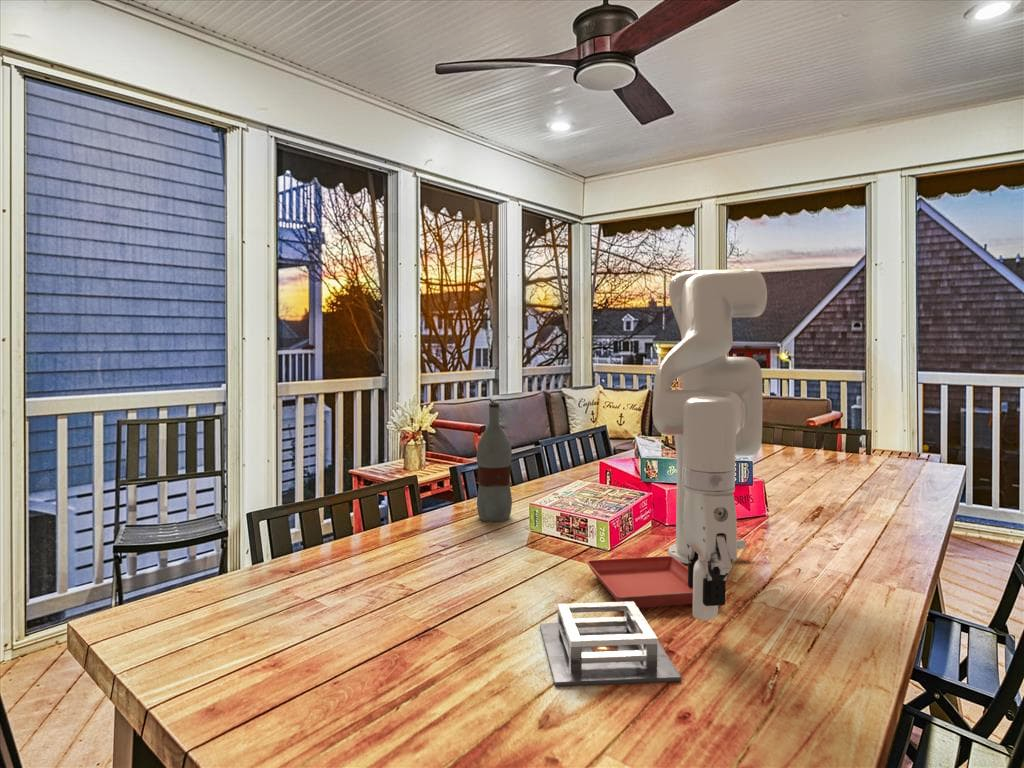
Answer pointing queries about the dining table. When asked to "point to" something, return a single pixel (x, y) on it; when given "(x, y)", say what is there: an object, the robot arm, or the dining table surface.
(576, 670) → the collar stand
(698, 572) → the eye dropper bottle
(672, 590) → the plant saucer
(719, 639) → the dining table surface
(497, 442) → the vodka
